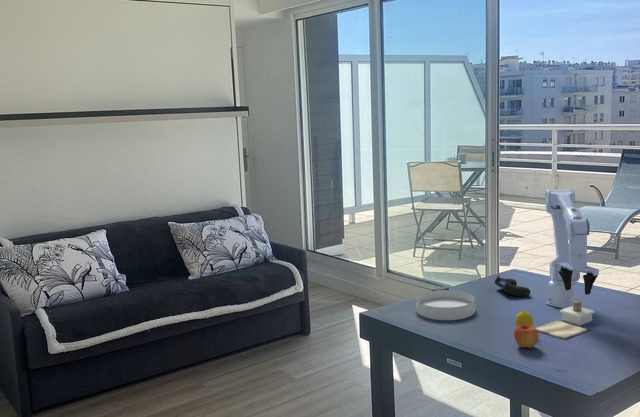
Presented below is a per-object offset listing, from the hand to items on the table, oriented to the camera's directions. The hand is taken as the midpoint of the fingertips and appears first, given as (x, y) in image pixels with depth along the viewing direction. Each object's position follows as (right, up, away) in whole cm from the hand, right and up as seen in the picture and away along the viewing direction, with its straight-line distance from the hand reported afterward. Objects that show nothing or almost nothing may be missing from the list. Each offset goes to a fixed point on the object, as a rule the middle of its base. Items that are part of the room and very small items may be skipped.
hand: (577, 291), depth 223 cm
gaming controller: (-12, -6, +38) cm, 40 cm away
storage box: (0, -10, +2) cm, 11 cm away
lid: (0, -7, +1) cm, 8 cm away
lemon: (-21, -13, -7) cm, 26 cm away
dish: (-42, -10, +21) cm, 48 cm away
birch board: (-8, -12, -6) cm, 16 cm away
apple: (-24, -15, -19) cm, 34 cm away
